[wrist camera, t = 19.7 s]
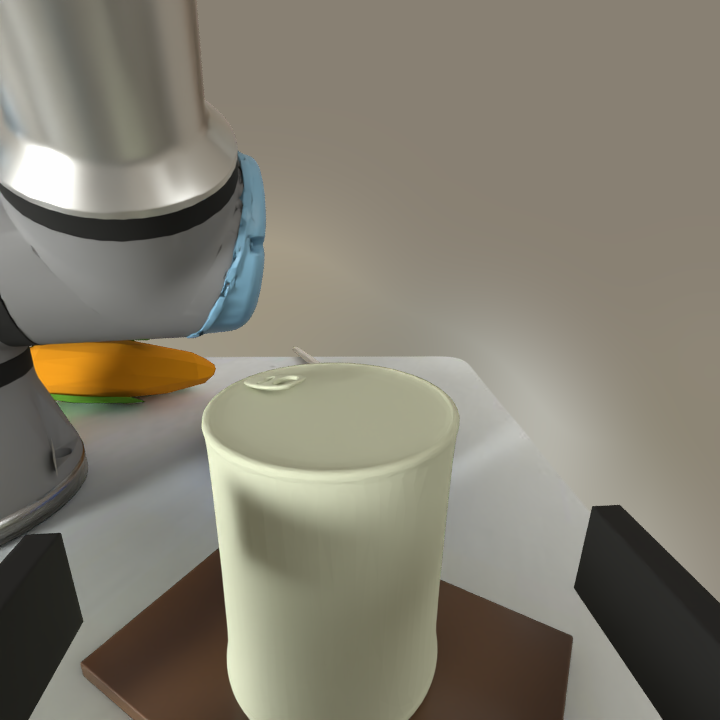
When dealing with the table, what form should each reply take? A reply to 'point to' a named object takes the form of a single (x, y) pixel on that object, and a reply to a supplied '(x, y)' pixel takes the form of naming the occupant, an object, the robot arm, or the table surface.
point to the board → (434, 716)
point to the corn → (116, 370)
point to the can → (331, 537)
